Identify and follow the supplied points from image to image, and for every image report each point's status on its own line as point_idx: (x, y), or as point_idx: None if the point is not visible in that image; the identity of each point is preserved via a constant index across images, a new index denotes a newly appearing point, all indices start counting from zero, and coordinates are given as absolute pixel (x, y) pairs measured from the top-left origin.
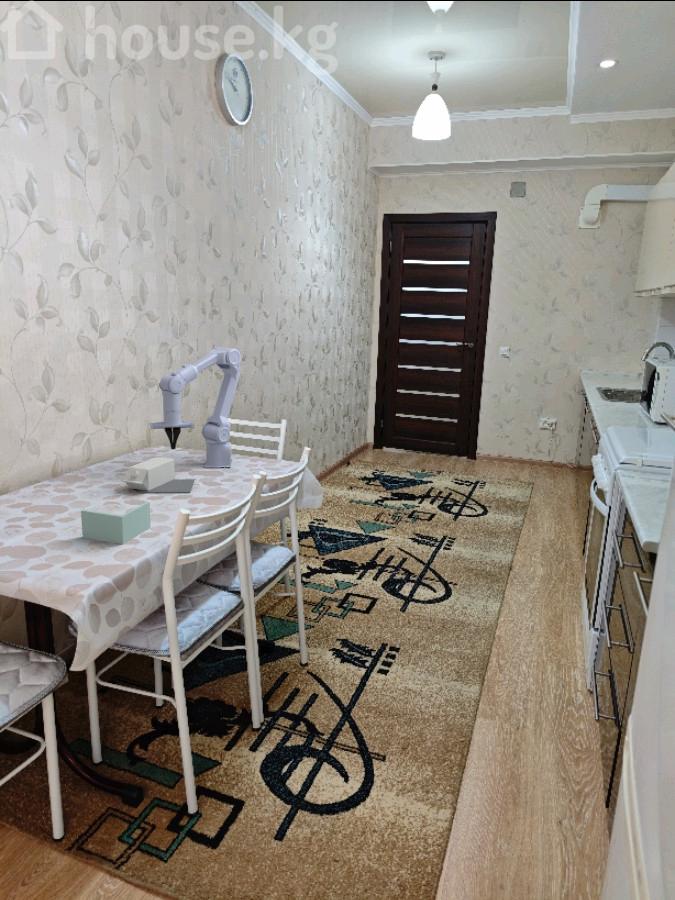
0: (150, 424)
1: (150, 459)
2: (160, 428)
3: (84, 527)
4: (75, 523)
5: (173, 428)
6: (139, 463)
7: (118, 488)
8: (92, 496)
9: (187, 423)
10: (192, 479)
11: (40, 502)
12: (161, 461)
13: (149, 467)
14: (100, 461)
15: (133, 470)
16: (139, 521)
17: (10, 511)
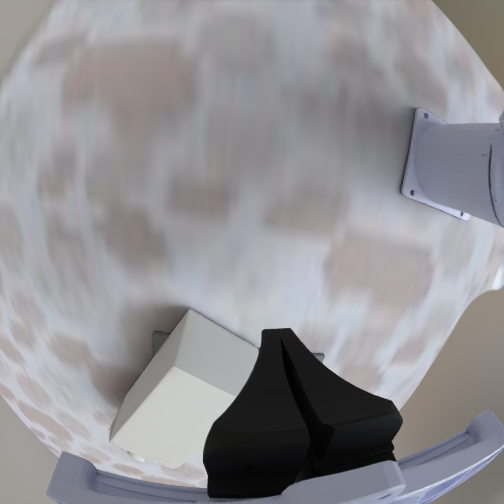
0: (56, 490)
1: (152, 398)
2: (167, 493)
3: None
4: (108, 469)
5: (319, 466)
6: (126, 426)
7: (96, 376)
8: (70, 402)
9: (437, 496)
10: (318, 356)
11: (17, 393)
12: (206, 427)
13: (173, 461)
14: (12, 59)
15: (131, 456)
16: None
17: (12, 407)
